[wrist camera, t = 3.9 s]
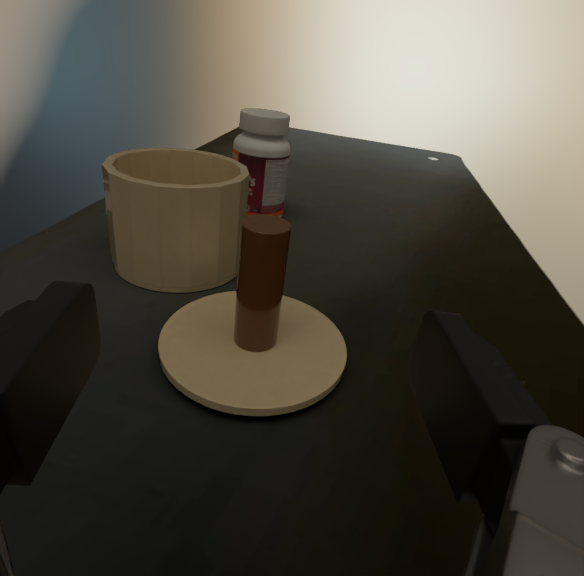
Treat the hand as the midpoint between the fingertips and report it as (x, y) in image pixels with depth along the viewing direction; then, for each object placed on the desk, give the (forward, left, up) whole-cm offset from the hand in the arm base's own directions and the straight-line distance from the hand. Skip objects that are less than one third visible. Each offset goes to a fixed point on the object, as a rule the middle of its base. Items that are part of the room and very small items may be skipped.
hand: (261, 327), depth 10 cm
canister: (+7, +26, -12) cm, 29 cm away
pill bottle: (+19, +34, -12) cm, 40 cm away
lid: (+7, +12, -11) cm, 18 cm away
